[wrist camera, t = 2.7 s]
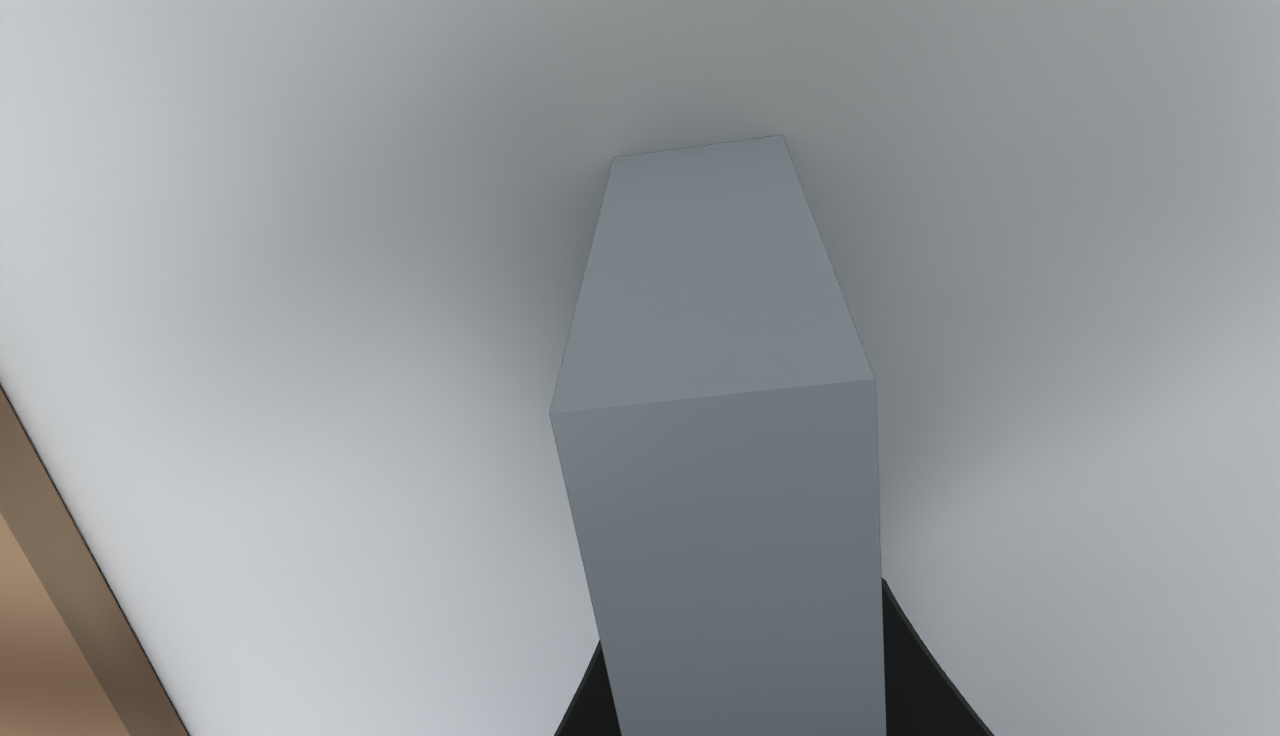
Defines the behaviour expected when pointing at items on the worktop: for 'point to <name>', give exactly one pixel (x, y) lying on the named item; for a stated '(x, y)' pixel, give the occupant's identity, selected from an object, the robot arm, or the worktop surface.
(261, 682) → the worktop surface
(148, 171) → the worktop surface
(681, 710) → the door panel
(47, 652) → the hinge board
